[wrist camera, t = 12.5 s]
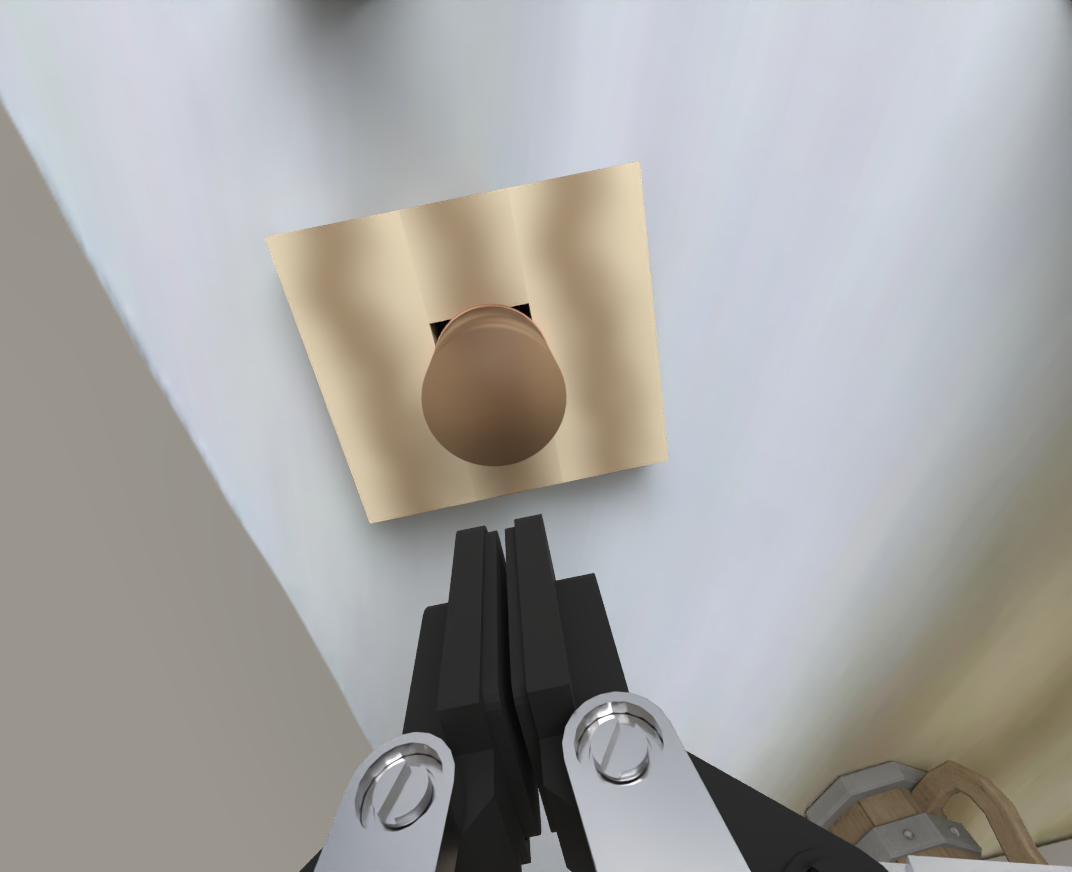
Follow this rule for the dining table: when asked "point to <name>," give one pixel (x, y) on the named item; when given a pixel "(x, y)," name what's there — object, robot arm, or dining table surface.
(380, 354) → the board
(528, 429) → the peg
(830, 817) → the tankard
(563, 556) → the dining table surface
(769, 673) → the dining table surface
